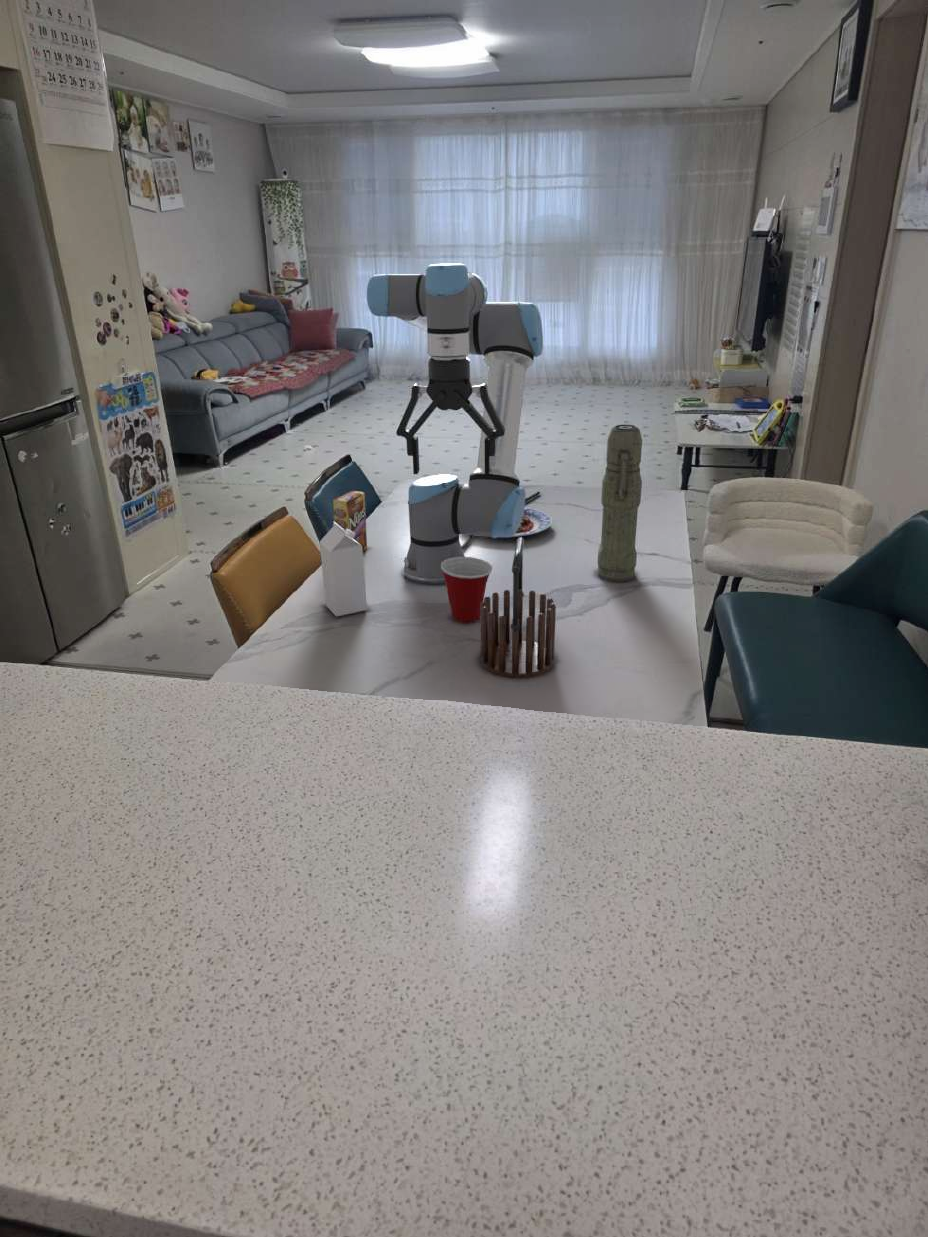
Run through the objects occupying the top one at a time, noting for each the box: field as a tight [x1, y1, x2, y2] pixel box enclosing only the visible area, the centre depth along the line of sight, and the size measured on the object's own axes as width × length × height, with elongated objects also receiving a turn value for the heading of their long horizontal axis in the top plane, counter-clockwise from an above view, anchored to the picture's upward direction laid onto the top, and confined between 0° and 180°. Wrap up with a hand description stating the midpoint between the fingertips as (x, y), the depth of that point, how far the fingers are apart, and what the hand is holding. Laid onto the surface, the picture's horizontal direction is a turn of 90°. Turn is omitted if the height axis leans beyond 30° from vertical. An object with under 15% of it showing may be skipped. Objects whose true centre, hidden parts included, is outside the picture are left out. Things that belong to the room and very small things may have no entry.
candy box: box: [332, 490, 368, 551], centre depth 209 cm, size 9×4×15 cm, turn 155°
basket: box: [479, 536, 557, 678], centre depth 153 cm, size 16×22×14 cm
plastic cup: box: [441, 556, 493, 623], centre depth 173 cm, size 11×11×12 cm
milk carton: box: [319, 520, 368, 618], centre depth 177 cm, size 7×7×19 cm
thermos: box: [597, 424, 643, 583], centre depth 188 cm, size 9×12×35 cm
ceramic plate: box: [510, 507, 553, 538], centre depth 227 cm, size 26×26×3 cm
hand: (451, 472), depth 157 cm, fingers open, 13 cm apart
